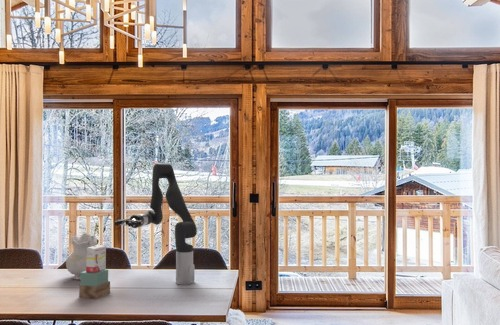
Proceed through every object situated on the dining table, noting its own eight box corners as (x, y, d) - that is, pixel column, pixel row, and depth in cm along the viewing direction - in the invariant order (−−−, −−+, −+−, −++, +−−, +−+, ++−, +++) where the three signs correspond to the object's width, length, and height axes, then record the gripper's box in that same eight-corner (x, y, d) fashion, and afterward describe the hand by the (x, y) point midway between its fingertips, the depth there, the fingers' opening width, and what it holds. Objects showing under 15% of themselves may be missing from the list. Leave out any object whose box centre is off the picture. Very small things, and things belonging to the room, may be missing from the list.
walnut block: (110, 293, 196) (110, 281, 196) (96, 299, 186) (96, 286, 186) (93, 291, 199) (93, 279, 199) (79, 297, 189) (79, 285, 189)
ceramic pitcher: (111, 278, 226) (114, 235, 228) (80, 284, 209) (84, 236, 211) (87, 273, 237) (90, 231, 239) (57, 278, 221) (61, 233, 223)
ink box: (93, 273, 188) (93, 248, 188) (85, 272, 190) (85, 247, 190) (106, 269, 196) (106, 245, 196) (98, 268, 198) (98, 244, 198)
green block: (108, 281, 195) (108, 269, 195) (96, 286, 187) (96, 274, 187) (92, 280, 198) (92, 268, 198) (80, 285, 189) (80, 272, 189)
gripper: (128, 213, 231) (110, 216, 216) (149, 214, 227) (133, 217, 211) (128, 226, 231) (110, 230, 215) (149, 227, 227) (133, 231, 211)
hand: (121, 224), depth 213 cm, fingers open, 8 cm apart
